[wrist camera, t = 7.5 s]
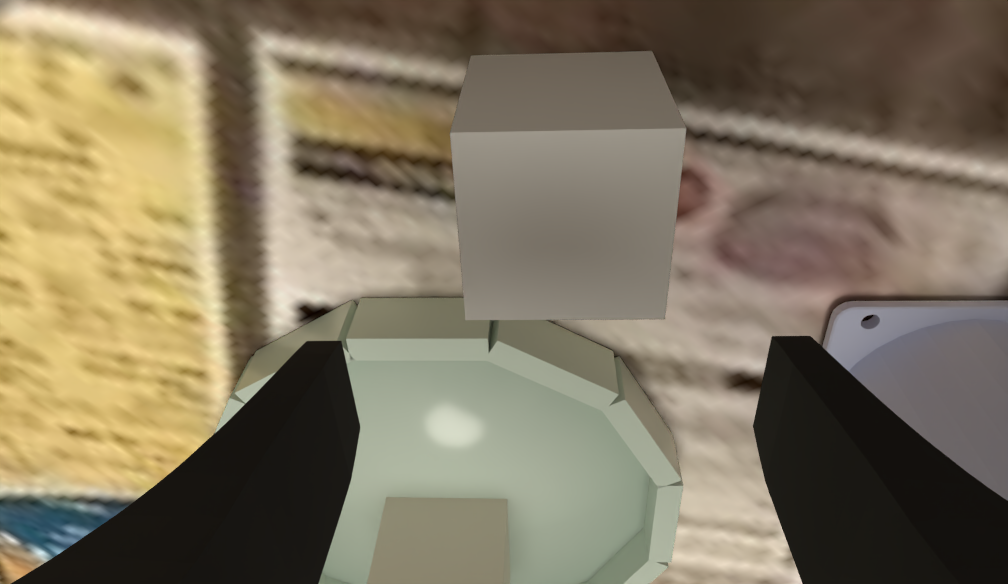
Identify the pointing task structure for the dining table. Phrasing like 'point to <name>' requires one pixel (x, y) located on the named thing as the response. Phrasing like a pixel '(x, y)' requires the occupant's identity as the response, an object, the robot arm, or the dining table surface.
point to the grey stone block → (566, 186)
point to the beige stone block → (442, 542)
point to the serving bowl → (496, 437)
